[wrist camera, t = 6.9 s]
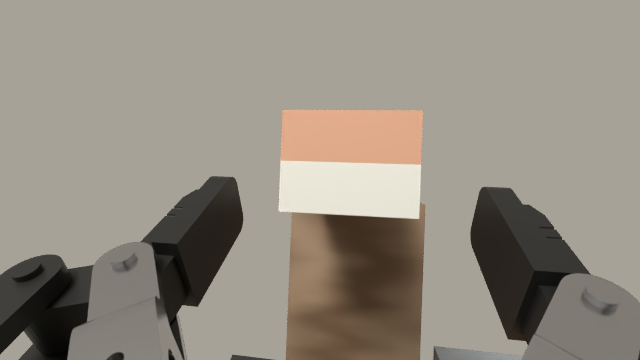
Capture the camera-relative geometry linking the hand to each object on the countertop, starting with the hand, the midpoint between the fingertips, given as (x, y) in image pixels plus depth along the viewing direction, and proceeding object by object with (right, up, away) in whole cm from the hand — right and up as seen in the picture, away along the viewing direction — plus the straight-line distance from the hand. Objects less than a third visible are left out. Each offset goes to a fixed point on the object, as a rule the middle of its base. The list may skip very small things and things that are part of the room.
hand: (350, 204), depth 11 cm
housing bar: (+1, 0, +8) cm, 8 cm away
